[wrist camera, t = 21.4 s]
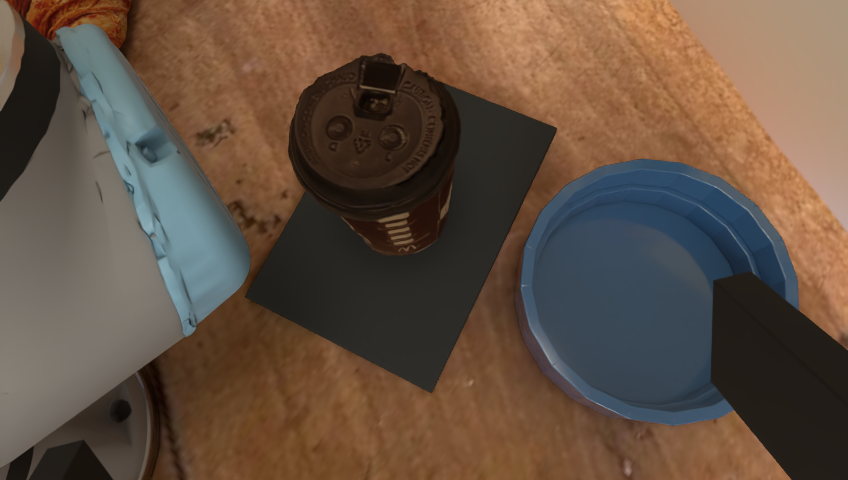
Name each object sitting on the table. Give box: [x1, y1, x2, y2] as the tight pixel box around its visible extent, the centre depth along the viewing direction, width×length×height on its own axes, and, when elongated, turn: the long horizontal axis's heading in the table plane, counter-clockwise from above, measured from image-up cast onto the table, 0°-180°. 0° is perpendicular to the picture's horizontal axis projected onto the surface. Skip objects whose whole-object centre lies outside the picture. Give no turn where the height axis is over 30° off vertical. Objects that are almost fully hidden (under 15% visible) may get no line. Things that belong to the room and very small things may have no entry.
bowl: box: [514, 159, 799, 426], centre depth 34 cm, size 15×15×5 cm
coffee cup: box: [288, 53, 462, 256], centre depth 32 cm, size 9×8×13 cm
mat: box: [245, 80, 557, 393], centre depth 39 cm, size 14×20×1 cm
